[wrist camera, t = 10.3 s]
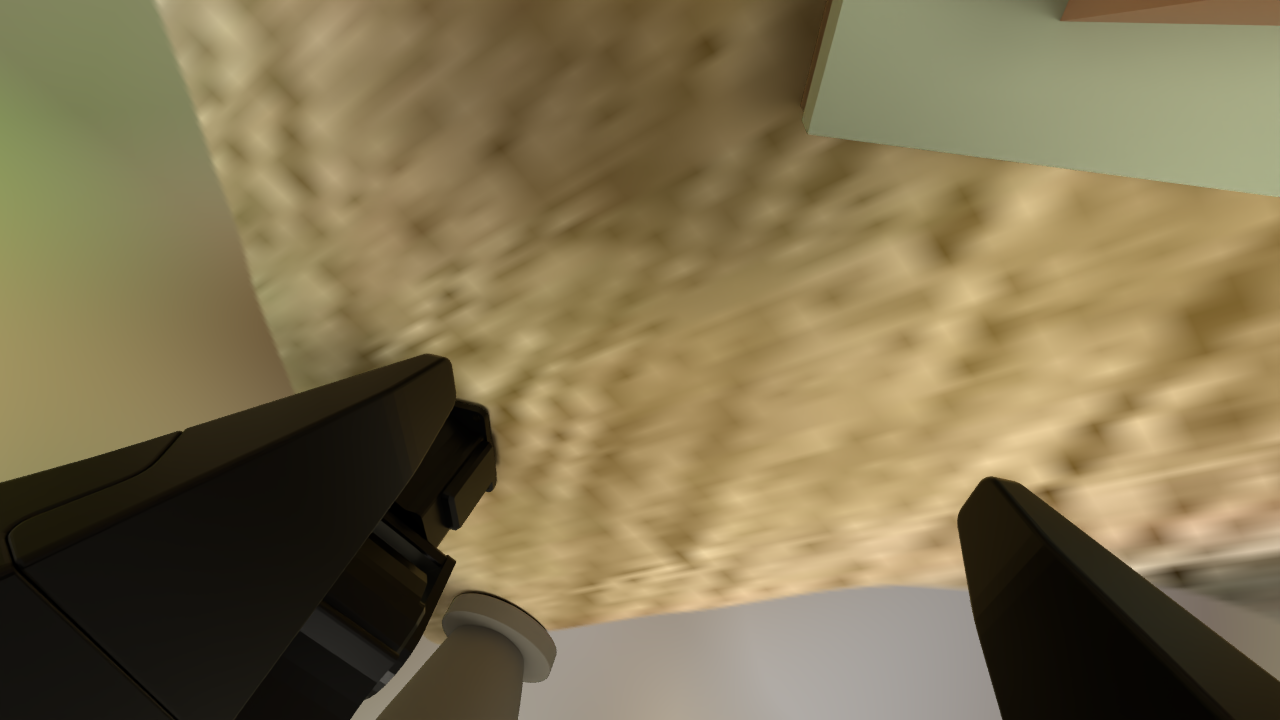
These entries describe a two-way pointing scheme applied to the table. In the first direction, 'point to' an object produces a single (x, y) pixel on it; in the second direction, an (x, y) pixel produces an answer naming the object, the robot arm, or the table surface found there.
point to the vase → (477, 665)
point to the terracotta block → (1175, 11)
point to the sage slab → (1054, 89)
